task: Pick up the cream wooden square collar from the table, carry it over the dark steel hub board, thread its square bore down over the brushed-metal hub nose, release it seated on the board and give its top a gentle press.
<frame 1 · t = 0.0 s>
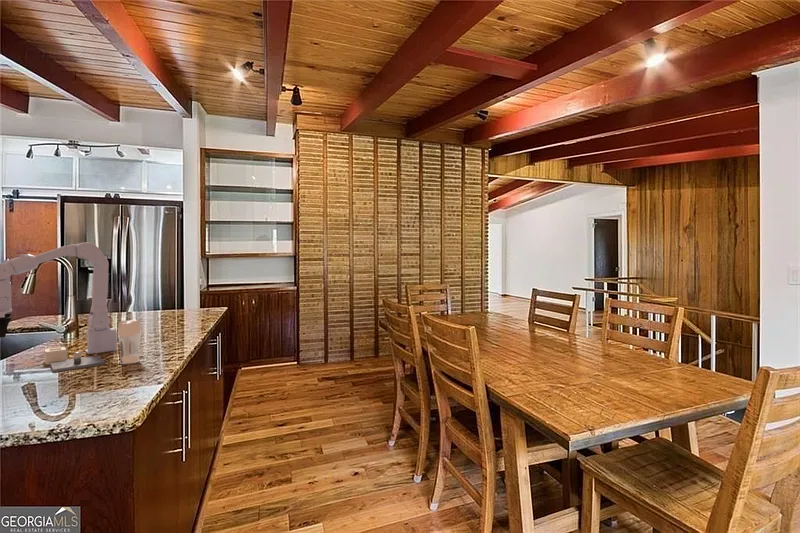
hand: (0, 335, 140), 10 cm above the kitchen island, fingers open, 7 cm apart
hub: (77, 364, 141), on the kitchen island
beer glass: (129, 362, 146), on the kitchen island
collar: (55, 361, 145), on the kitchen island
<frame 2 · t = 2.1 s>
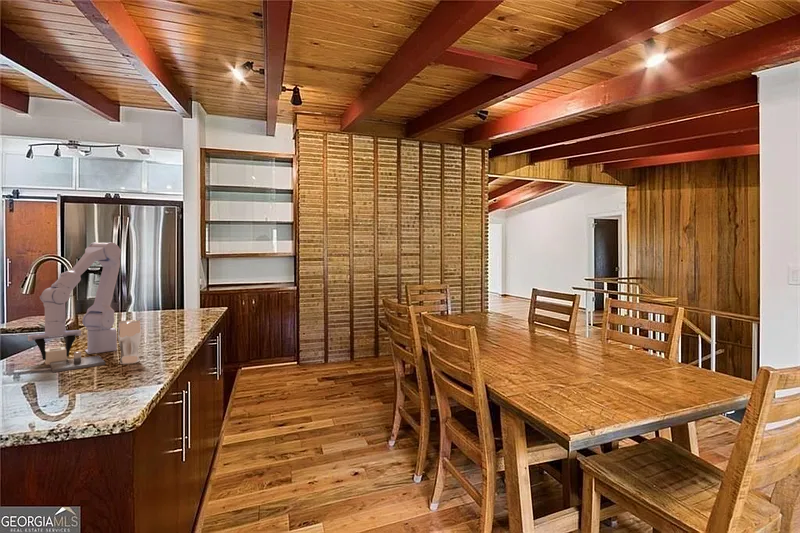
hand: (55, 357, 145), 1 cm above the kitchen island, fingers closed on collar, 6 cm apart
collar: (55, 361, 145), on the kitchen island, touching gripper
everything else where it was.
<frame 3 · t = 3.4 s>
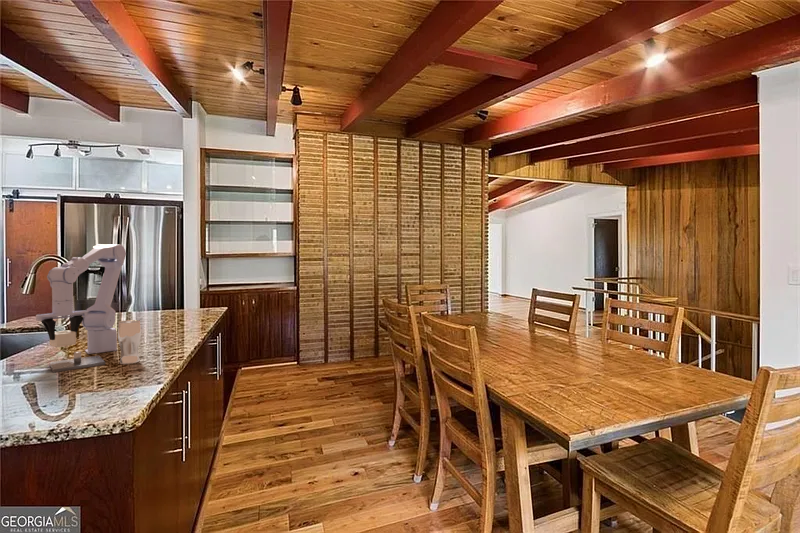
hand: (63, 338, 143), 9 cm above the kitchen island, fingers closed on collar, 6 cm apart
collar: (62, 344, 143), point 7 cm above the kitchen island, touching gripper
everything else where it was.
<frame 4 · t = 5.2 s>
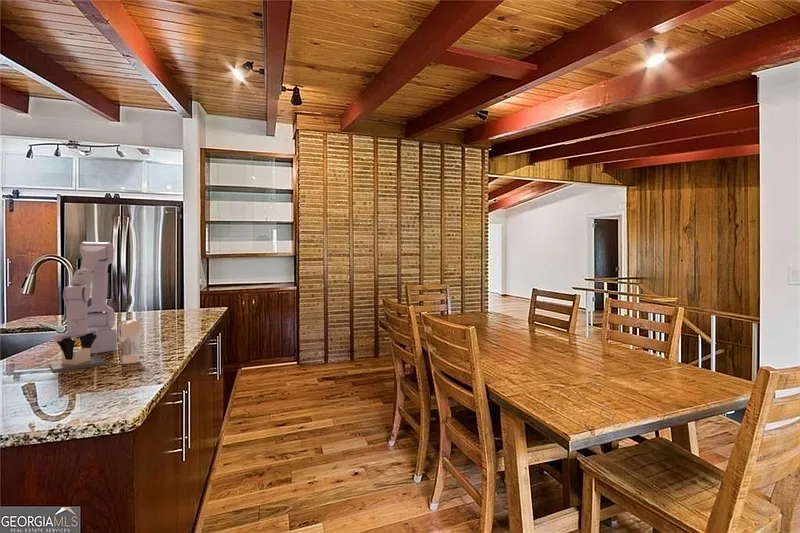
hand: (77, 357, 141), 3 cm above the kitchen island, fingers closed on collar, 5 cm apart
collar: (76, 362, 141), point 1 cm above the kitchen island, touching gripper, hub
everything else where it was.
when the fingers open (3 cm above the kitchen island, at t = 5.6 s): collar stays where it is, resting on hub.
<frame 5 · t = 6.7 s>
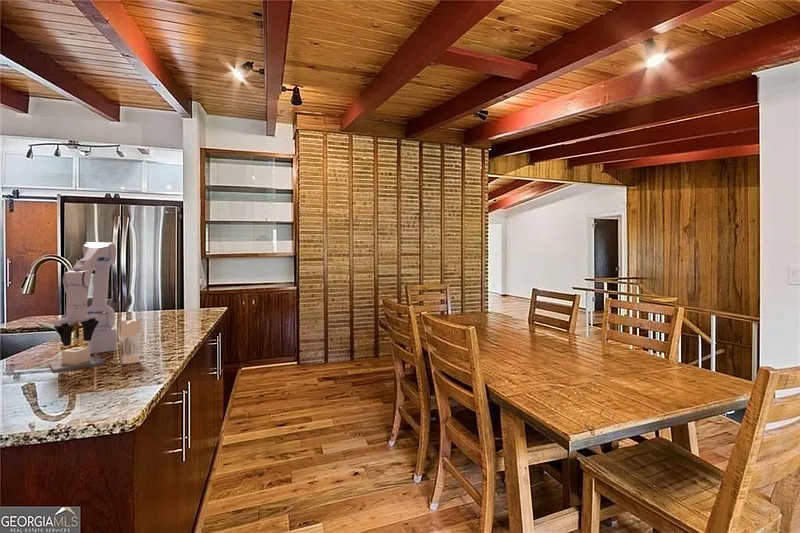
hand: (77, 342, 141), 8 cm above the kitchen island, fingers open, 7 cm apart
collar: (76, 362, 141), point 1 cm above the kitchen island, touching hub
everything else where it was.
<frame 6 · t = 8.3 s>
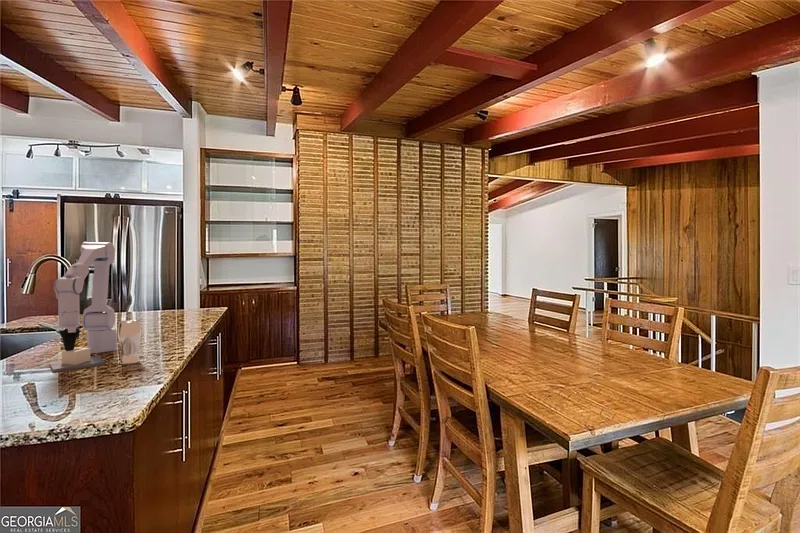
hand: (69, 350, 139), 6 cm above the kitchen island, fingers closed
nothing on the kitchen island moved.
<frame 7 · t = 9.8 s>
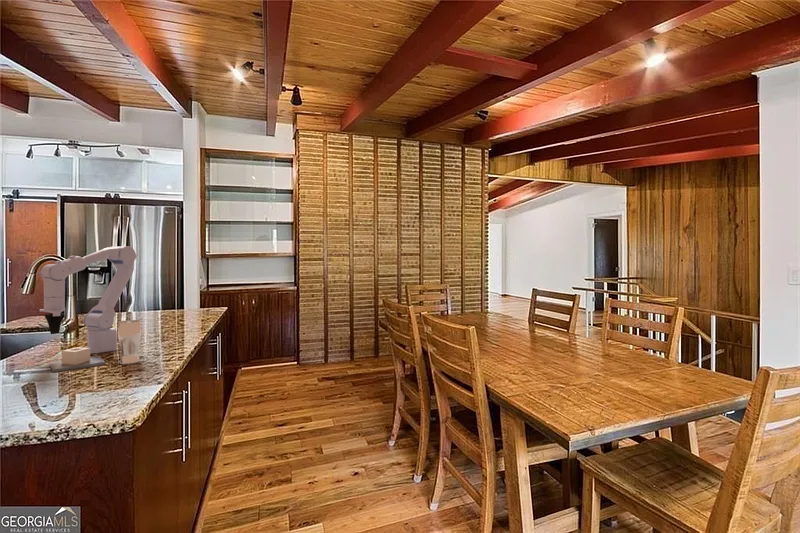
hand: (54, 333, 146), 10 cm above the kitchen island, fingers closed
nothing on the kitchen island moved.
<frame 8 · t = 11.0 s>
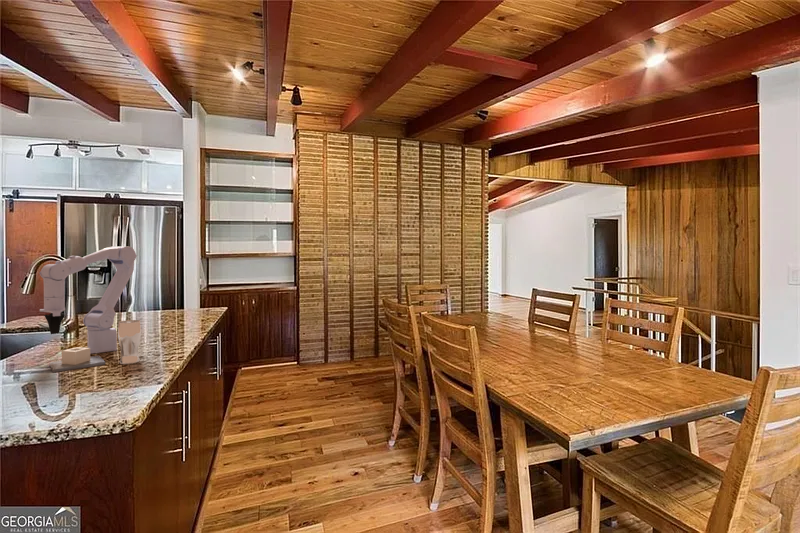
hand: (54, 333, 146), 10 cm above the kitchen island, fingers closed
nothing on the kitchen island moved.
at the end: collar 0.5 cm off-centre on the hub, point 1.0 cm above the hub's base; collar tilted 0°; the gripper is holding nothing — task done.
